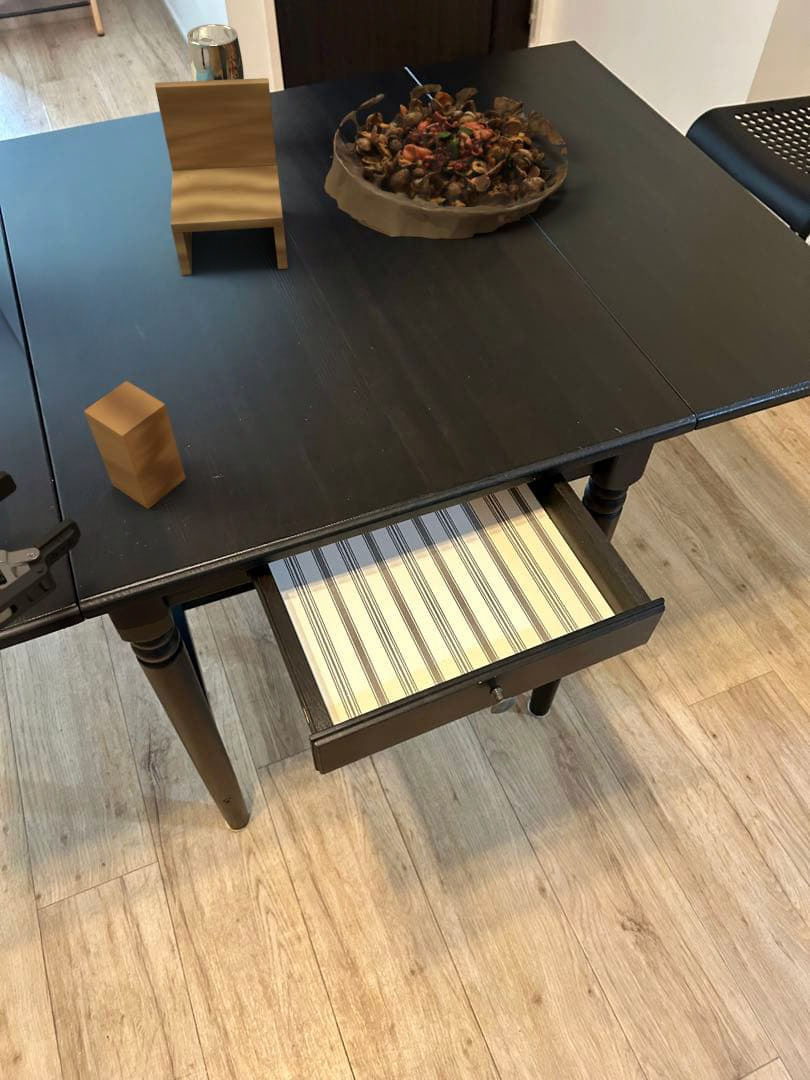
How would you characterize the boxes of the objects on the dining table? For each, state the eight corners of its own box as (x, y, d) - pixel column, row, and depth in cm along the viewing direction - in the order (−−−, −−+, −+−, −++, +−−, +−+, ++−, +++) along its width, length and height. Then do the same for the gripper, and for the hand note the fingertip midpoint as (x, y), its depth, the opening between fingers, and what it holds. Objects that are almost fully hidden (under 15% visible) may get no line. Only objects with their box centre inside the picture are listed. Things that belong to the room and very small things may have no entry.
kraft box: (148, 509, 79) (122, 435, 71) (112, 485, 80) (83, 410, 72) (186, 478, 81) (165, 404, 73) (150, 455, 83) (126, 380, 75)
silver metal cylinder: (218, 131, 123) (201, 19, 111) (260, 140, 121) (248, 28, 109) (195, 153, 119) (175, 40, 107) (239, 162, 117) (224, 49, 105)
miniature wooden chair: (287, 268, 102) (274, 132, 89) (181, 275, 101) (151, 138, 88) (281, 211, 110) (268, 77, 97) (182, 216, 109) (155, 82, 95)
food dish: (473, 102, 132) (480, 50, 126) (611, 203, 116) (626, 148, 110) (279, 151, 119) (276, 95, 113) (404, 271, 103) (408, 214, 97)
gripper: (-99, 657, 57) (86, 513, 65) (-211, 556, 62) (-27, 434, 70) (-54, 705, 63) (110, 568, 71) (-159, 609, 68) (5, 491, 76)
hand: (42, 501), depth 70 cm, fingers open, 8 cm apart
